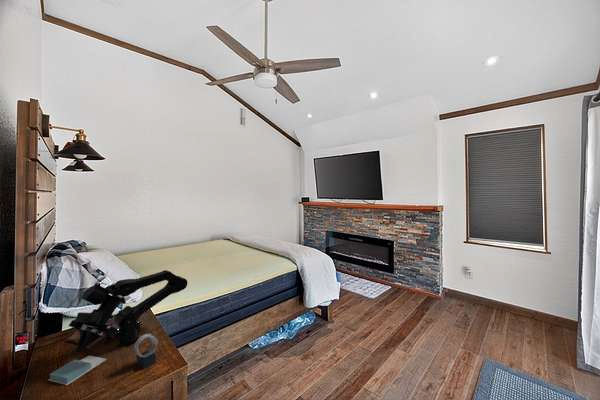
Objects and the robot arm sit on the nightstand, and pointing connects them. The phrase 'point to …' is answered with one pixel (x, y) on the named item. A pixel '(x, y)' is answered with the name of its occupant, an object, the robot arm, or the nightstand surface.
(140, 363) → the watch
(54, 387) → the nightstand surface
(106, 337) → the sunglasses case
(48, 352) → the nightstand surface
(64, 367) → the teal tile
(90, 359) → the felt mat
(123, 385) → the nightstand surface
